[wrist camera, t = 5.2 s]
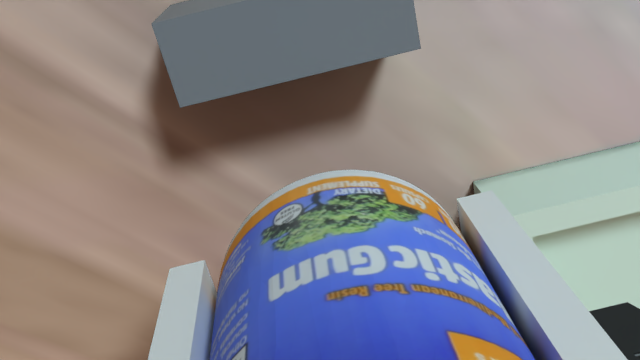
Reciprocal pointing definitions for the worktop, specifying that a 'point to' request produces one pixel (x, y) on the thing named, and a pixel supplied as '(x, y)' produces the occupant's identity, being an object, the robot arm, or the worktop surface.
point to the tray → (582, 220)
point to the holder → (275, 41)
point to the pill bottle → (356, 279)
